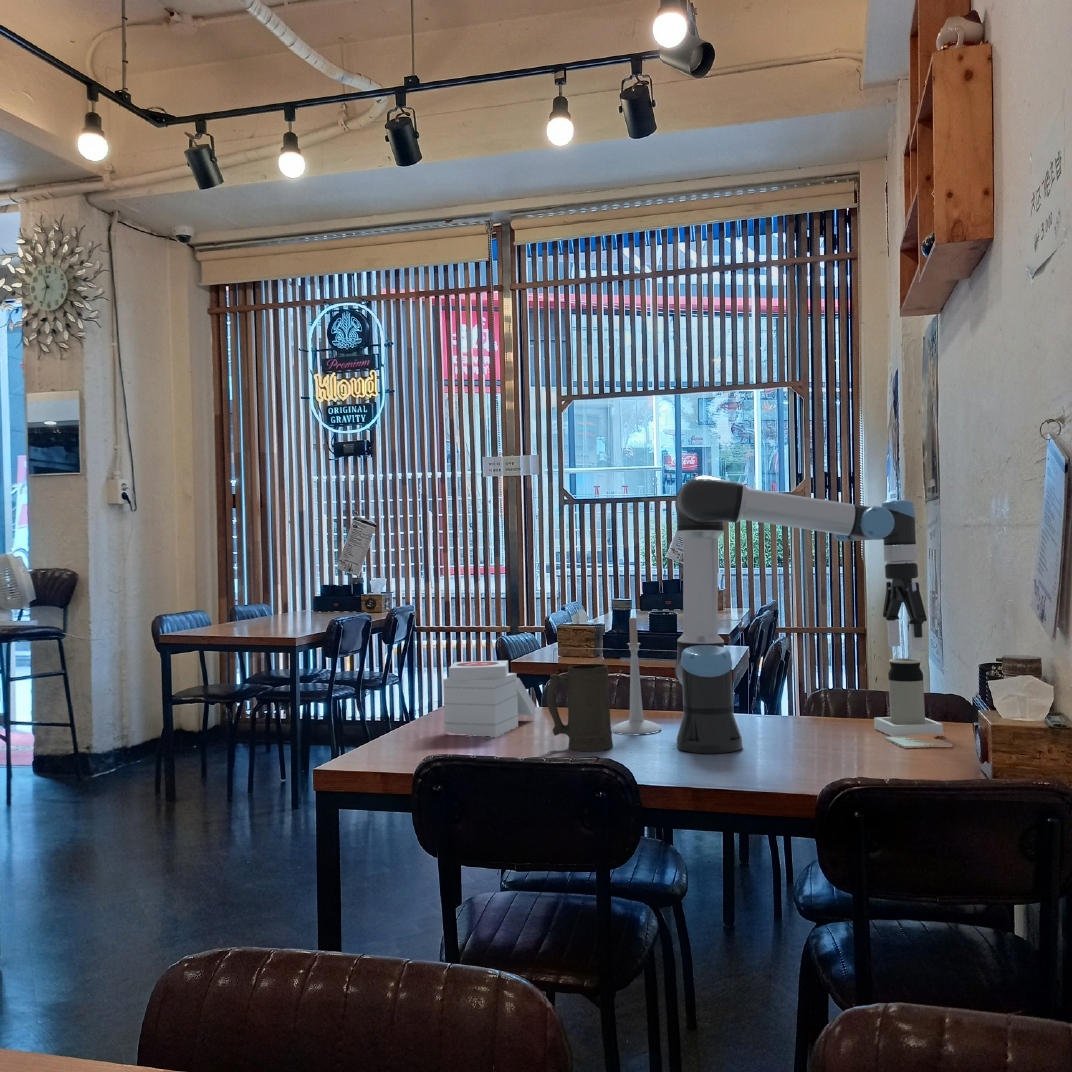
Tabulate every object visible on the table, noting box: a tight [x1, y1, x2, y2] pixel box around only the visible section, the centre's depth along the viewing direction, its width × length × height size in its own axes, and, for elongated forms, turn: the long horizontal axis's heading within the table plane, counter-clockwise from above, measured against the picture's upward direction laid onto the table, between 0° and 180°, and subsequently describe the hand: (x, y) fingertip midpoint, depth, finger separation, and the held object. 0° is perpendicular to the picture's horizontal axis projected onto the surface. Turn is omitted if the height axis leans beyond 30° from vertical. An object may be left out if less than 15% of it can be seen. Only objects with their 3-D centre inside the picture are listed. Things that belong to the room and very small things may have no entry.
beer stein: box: [546, 663, 614, 752], centre depth 222 cm, size 15×11×20 cm
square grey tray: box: [873, 716, 944, 736], centre depth 227 cm, size 12×12×3 cm
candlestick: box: [611, 617, 662, 735], centre depth 243 cm, size 13×13×30 cm
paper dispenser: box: [442, 660, 536, 738], centre depth 254 cm, size 19×30×18 cm, turn 158°
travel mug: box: [887, 657, 926, 725], centre depth 228 cm, size 8×8×18 cm
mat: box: [884, 736, 953, 747], centre depth 215 cm, size 11×11×1 cm
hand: (905, 648), depth 228 cm, fingers open, 13 cm apart
